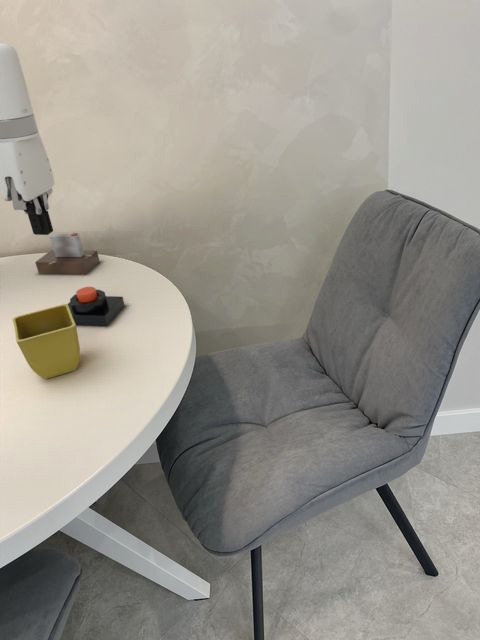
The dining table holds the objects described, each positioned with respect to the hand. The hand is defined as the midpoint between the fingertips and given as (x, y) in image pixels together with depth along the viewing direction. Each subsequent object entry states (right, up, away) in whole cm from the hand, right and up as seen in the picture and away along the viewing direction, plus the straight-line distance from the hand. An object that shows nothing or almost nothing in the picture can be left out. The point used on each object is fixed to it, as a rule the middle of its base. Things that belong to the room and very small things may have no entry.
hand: (43, 233), depth 101 cm
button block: (+8, -15, +4) cm, 17 cm away
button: (+7, -12, +2) cm, 14 cm away
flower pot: (+7, -25, -11) cm, 28 cm away
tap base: (-4, -3, +26) cm, 27 cm away
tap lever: (-4, 0, +24) cm, 25 cm away
